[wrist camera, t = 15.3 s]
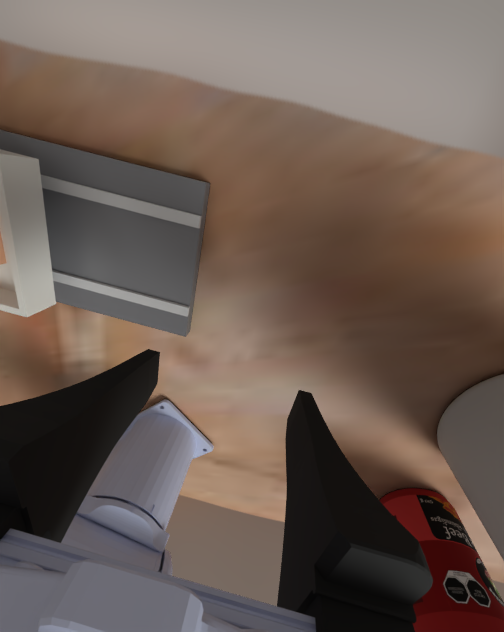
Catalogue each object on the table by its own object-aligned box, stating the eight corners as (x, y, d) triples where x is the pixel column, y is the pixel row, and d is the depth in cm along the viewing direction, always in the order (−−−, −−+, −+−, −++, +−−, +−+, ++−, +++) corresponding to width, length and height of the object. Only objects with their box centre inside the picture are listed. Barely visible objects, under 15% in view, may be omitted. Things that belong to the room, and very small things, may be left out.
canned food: (464, 517, 29) (556, 687, 19) (394, 534, 32) (442, 690, 22) (431, 476, 27) (513, 642, 17) (360, 499, 30) (394, 651, 20)
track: (210, 183, 18) (196, 181, 15) (189, 331, 23) (176, 349, 21) (-90, 106, 19) (-155, 91, 16) (-44, 268, 24) (-86, 277, 21)
